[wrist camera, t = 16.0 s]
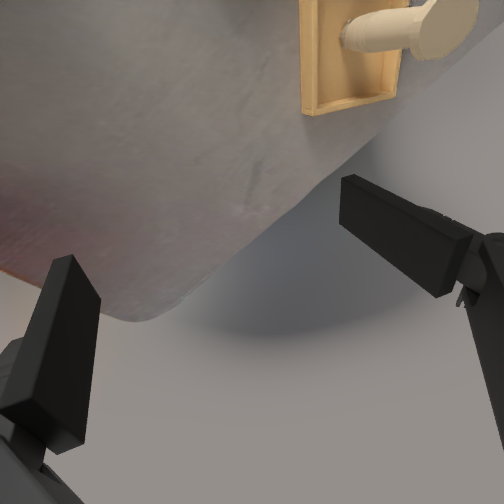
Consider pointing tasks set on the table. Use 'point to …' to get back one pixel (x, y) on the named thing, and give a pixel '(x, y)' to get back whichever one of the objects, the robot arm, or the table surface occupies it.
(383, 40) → the handle
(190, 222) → the table surface
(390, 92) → the tray
